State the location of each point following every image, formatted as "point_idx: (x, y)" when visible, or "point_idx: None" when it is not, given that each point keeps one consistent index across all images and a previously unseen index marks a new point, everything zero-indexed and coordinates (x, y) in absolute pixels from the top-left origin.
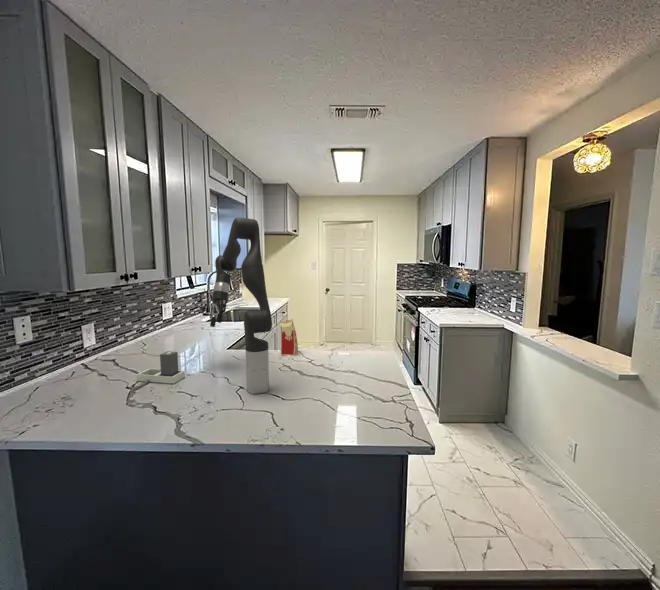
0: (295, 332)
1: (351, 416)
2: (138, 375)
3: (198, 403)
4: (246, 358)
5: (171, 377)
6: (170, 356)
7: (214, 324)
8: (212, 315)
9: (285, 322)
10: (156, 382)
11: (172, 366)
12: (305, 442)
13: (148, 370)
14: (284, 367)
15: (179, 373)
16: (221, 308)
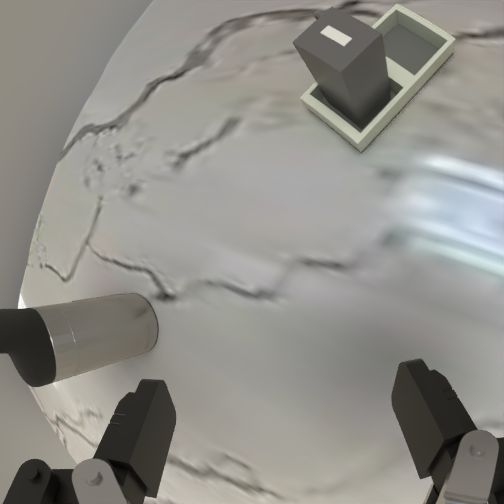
0: None
1: None
2: (392, 9)
3: (140, 165)
4: (55, 305)
5: (306, 92)
6: (296, 47)
7: (399, 415)
8: (444, 488)
9: None
10: None
11: (320, 80)
12: (25, 271)
13: (438, 36)
14: (244, 477)
15: (332, 120)
16: (18, 496)
